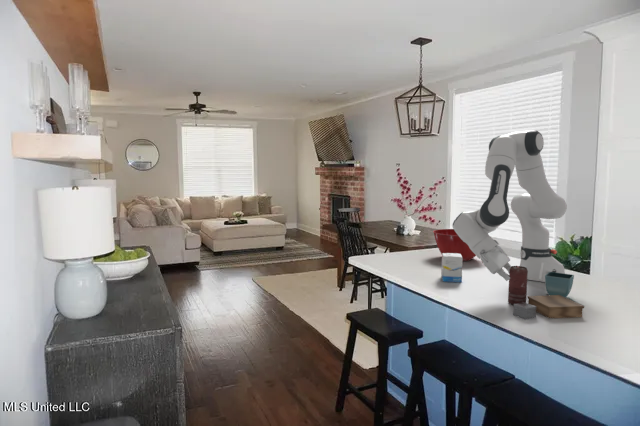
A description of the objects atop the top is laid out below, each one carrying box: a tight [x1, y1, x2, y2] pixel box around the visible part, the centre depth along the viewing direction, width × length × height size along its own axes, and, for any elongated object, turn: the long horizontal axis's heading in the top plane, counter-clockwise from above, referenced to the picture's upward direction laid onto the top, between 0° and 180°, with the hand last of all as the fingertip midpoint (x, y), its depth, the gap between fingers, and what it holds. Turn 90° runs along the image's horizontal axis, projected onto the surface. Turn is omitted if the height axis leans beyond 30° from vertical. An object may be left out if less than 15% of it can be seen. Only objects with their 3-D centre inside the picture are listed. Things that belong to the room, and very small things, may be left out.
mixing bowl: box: [432, 228, 477, 262], centre depth 237 cm, size 28×28×15 cm
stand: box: [526, 294, 585, 319], centre depth 148 cm, size 13×13×4 cm
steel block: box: [512, 302, 537, 321], centre depth 144 cm, size 5×5×4 cm
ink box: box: [440, 253, 464, 283], centre depth 191 cm, size 9×8×12 cm
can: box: [507, 265, 528, 306], centre depth 157 cm, size 6×6×14 cm
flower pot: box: [544, 272, 575, 298], centre depth 165 cm, size 9×9×9 cm
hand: (511, 276), depth 158 cm, fingers open, 8 cm apart
